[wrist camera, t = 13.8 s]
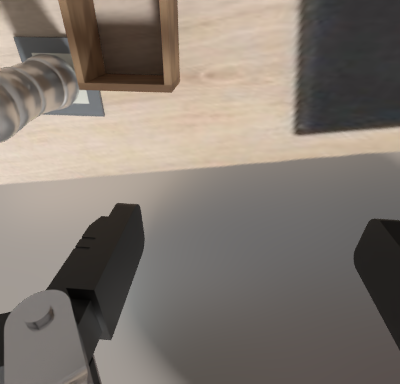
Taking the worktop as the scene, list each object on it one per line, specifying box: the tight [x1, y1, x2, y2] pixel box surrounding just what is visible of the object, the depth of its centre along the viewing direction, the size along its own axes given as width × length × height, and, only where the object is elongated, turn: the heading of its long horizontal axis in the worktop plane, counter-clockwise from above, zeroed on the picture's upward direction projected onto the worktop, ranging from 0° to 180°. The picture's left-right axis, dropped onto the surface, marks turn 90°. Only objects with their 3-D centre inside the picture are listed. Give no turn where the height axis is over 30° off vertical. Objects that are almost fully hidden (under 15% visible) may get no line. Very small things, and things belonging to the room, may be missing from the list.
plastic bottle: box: [0, 54, 80, 143], centre depth 27 cm, size 6×7×20 cm
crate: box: [58, 0, 180, 93], centre depth 30 cm, size 11×11×6 cm
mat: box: [14, 37, 105, 116], centre depth 36 cm, size 10×10×1 cm
